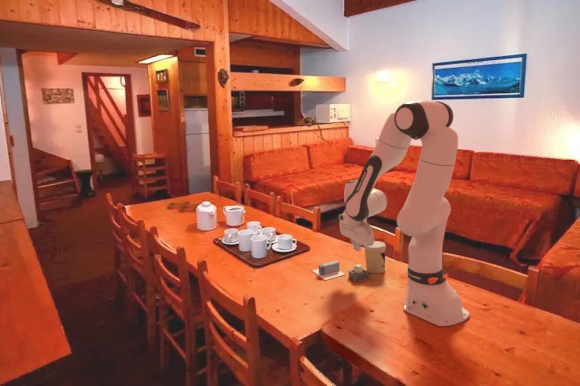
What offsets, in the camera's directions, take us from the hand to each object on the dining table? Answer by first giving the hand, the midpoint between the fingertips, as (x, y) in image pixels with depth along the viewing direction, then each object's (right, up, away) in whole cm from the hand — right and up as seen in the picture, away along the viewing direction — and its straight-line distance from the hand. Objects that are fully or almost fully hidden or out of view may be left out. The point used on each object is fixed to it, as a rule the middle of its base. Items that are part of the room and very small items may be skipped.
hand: (356, 250), depth 168 cm
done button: (+1, -11, +2) cm, 11 cm away
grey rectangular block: (-11, -11, +10) cm, 19 cm away
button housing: (+1, -12, +2) cm, 13 cm away
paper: (-11, -12, +10) cm, 19 cm away
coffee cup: (+10, -10, +9) cm, 17 cm away
